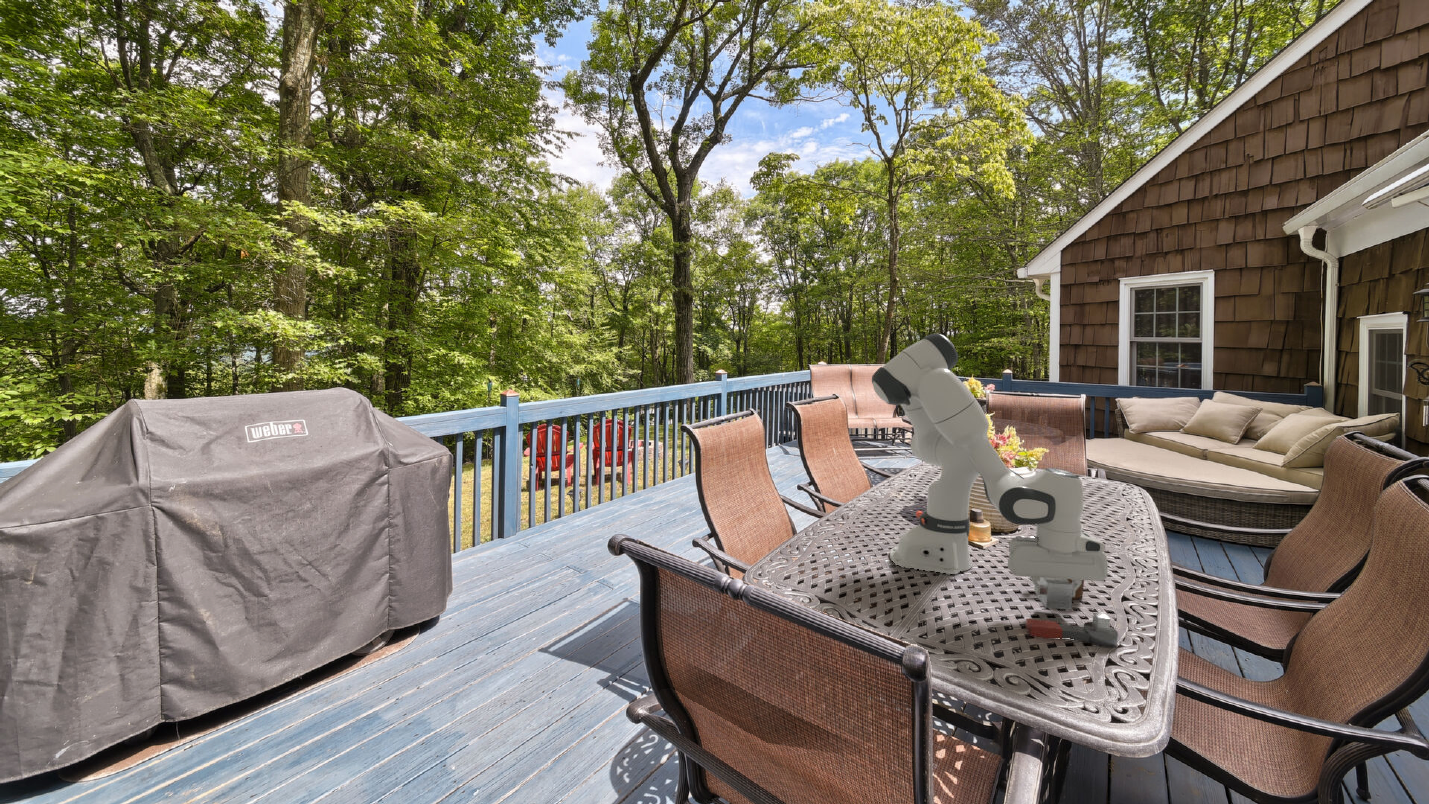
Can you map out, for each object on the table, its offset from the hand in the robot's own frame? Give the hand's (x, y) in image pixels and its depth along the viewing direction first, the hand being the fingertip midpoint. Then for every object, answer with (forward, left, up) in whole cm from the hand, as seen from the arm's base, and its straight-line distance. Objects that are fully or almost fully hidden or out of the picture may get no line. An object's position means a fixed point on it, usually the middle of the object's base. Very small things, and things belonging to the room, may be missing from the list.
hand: (1054, 594), depth 128 cm
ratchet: (0, -11, -5) cm, 12 cm away
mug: (+5, +13, -5) cm, 15 cm away
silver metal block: (0, 0, -2) cm, 2 cm away
